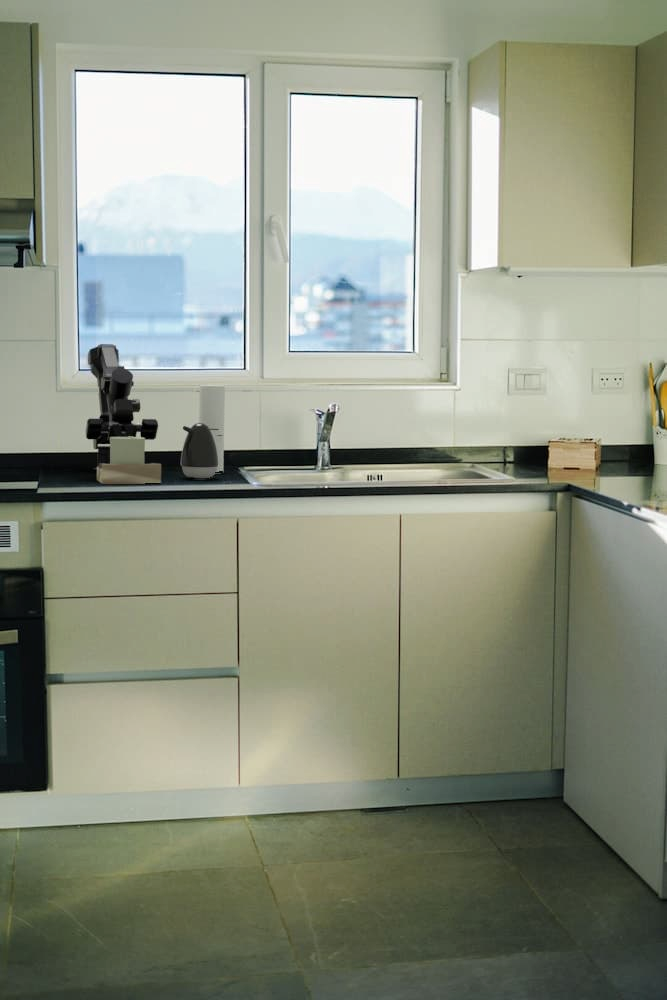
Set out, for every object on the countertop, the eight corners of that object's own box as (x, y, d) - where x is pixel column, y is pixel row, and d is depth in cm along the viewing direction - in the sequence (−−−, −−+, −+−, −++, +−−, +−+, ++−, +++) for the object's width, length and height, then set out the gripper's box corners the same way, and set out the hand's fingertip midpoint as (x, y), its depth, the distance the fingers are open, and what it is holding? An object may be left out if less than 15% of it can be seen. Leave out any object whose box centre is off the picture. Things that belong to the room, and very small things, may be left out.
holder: (96, 480, 322) (96, 461, 321) (153, 479, 327) (153, 461, 326) (102, 484, 312) (102, 464, 311) (161, 483, 317) (161, 464, 316)
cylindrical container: (195, 471, 356) (196, 385, 353) (218, 471, 359) (219, 385, 356) (203, 473, 349) (204, 385, 346) (226, 473, 352) (228, 386, 349)
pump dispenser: (172, 477, 334) (173, 422, 332) (205, 476, 341) (205, 421, 339) (192, 481, 326) (193, 424, 325) (225, 479, 333) (226, 423, 331)
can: (119, 483, 314) (120, 437, 312) (102, 480, 321) (103, 435, 320) (151, 482, 319) (151, 436, 318) (134, 479, 327) (134, 434, 325)
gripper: (87, 388, 324) (92, 431, 315) (157, 389, 330) (164, 432, 321) (83, 416, 332) (88, 460, 323) (151, 417, 338) (158, 460, 329)
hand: (125, 452), depth 324 cm, fingers closed
